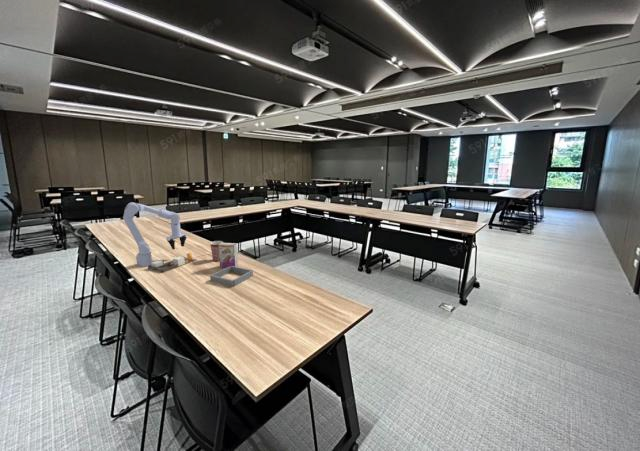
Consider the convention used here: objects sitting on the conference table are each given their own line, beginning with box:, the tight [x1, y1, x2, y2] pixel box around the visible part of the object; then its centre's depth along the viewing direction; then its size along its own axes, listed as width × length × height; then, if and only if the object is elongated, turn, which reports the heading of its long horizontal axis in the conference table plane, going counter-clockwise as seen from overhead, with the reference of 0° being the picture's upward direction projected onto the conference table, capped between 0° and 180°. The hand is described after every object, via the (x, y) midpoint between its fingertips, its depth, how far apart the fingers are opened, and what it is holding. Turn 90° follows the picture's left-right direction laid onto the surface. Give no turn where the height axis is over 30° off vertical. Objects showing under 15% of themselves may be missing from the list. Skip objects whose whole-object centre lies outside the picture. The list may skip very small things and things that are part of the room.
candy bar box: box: [218, 242, 239, 268], centre depth 185 cm, size 11×5×16 cm, turn 84°
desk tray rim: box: [209, 266, 254, 288], centre depth 168 cm, size 18×18×4 cm
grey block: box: [151, 260, 163, 267], centre depth 181 cm, size 5×5×4 cm
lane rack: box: [147, 256, 197, 273], centre depth 188 cm, size 15×26×3 cm, turn 155°
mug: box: [209, 240, 224, 263], centre depth 199 cm, size 13×9×14 cm
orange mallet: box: [172, 252, 193, 267], centre depth 191 cm, size 5×13×5 cm, turn 155°
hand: (178, 247), depth 197 cm, fingers open, 7 cm apart
